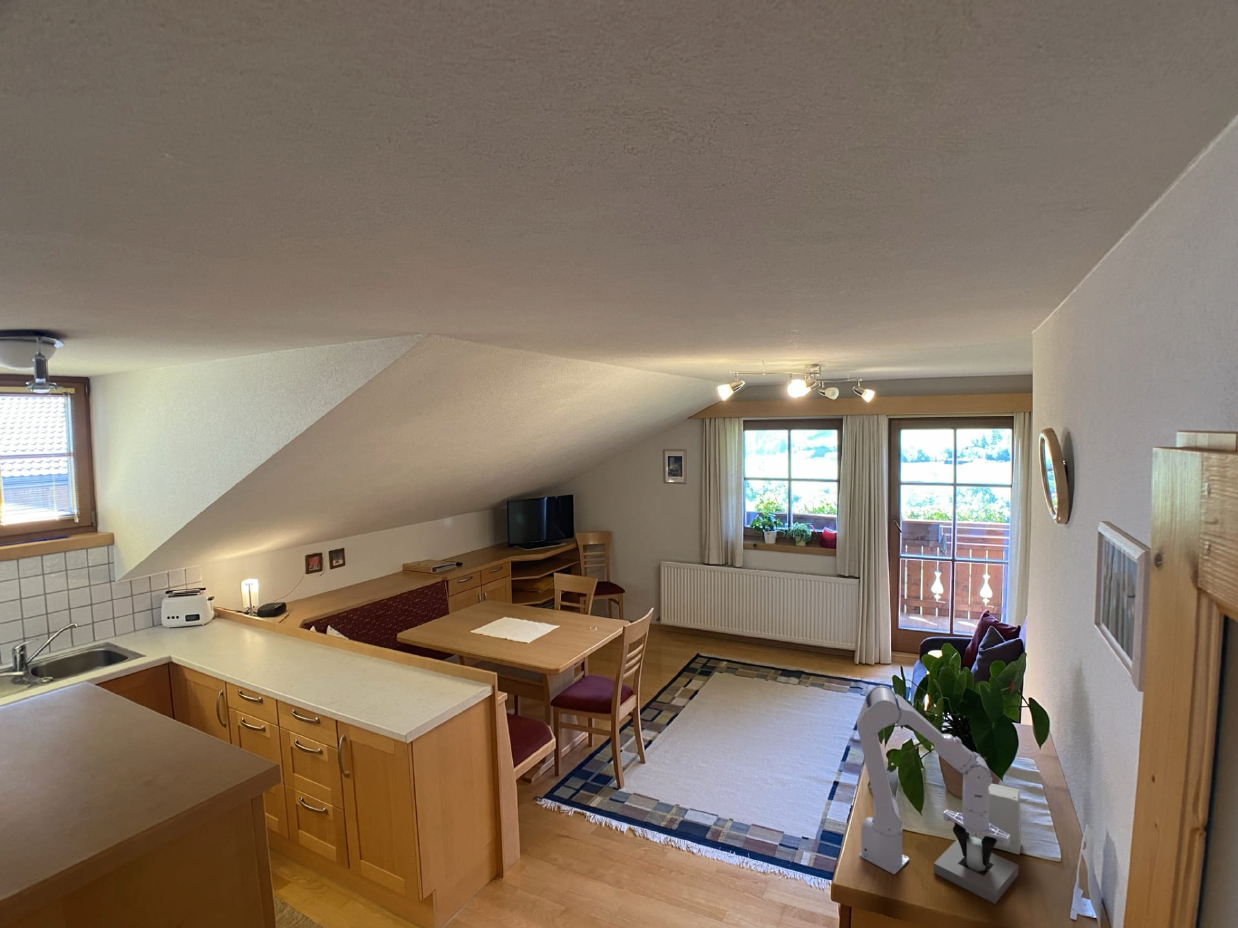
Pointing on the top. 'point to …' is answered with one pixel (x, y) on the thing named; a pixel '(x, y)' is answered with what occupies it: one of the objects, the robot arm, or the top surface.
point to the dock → (983, 886)
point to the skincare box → (1006, 815)
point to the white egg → (975, 854)
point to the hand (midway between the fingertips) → (975, 858)
